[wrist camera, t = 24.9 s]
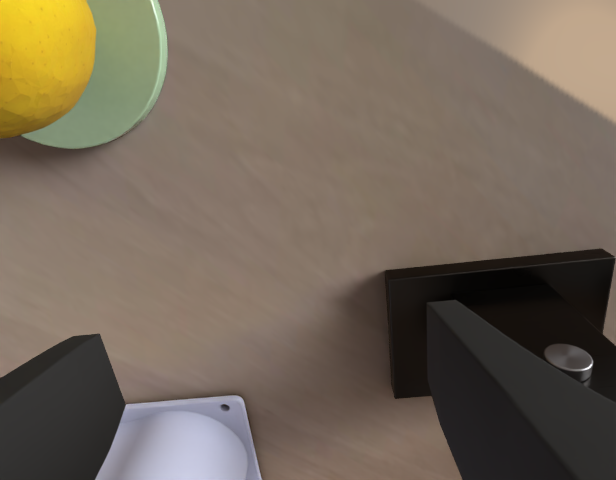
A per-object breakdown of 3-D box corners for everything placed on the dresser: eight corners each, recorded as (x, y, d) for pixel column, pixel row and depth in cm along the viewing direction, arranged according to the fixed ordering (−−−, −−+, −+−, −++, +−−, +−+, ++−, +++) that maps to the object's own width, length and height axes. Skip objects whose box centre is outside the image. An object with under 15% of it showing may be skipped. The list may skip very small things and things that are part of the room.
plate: (-1, 156, 18) (-14, 160, 17) (-93, -77, 15) (-114, -85, 14) (189, 133, 18) (184, 136, 17) (134, -113, 15) (125, -123, 14)
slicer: (602, 247, 19) (790, 366, 12) (583, 369, 22) (726, 532, 14) (384, 269, 20) (428, 396, 12) (391, 386, 23) (430, 549, 15)
